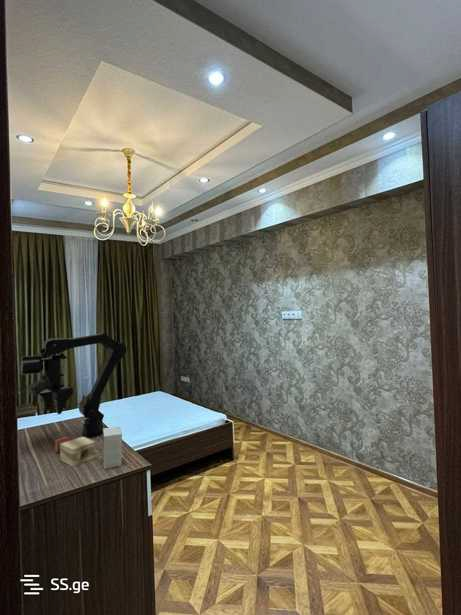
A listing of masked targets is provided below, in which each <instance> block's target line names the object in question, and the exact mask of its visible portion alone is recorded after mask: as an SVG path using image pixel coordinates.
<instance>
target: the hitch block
mask: <svg viewBox="0 0 461 615" xmlns="http://www.w3.org/2000/svg"><path fill="white" fill-rule="evenodd" d="M96 444H97V442H96V441H95V440H92V439H91V438H89V437H87V436H80V437H76V438H74V439H70V440H69V441H68V442H64V443H61V444H60V452H59V456H60V457H59V458H60V459H59V461H61V462H63V463H65V464H66V465H69V466H71V467H75V466H78V465H81V464H83V463H85V462H88V461H90V460H93V459H95V458H97V456H96V452H97V451H96V450H97V449H96ZM81 451H83V454H82V455H80V452H81Z"/></svg>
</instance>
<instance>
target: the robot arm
mask: <svg viewBox="0 0 461 615" xmlns="http://www.w3.org/2000/svg"><path fill="white" fill-rule="evenodd" d="M96 344H100V345H102V346H103V347H104V349H106V350H107V351H106V354H105V362H104V364H103V366H102V368H101V370H100V371H99V374H98V375H97V377H96V380H95V382H94V385H93V386H92V388H91V390H90V392H89V393H88V394H87V395H82V397H81V401H80V402H79V403H78V411H79V413H80V414H81V415H82V416H84V420H83V422H84V424H82V425H83V426H82V427H83V428H82V430H83V431H82V433H81V435H82V436H84V437H86V438H89V439H91V438H94V437H97V436H100V435H103V421H104V420H103V419H104V416H105V414H104V413H102V412H101V411H100V410H99V409H100V405H101V398H102V395H103V393H104V392H105V389H106V387H107V385H108V382H109V380H110V378H111V376H112V374H113V372H114V369H116V365H117V364H118V363H119V362H120V361H121V360H122V359H123V358H124V356H125V355H126V353H127V346H126V345H125V344H124V343H121V342H118V341H116V340H115V339H113V338H112V337H110V336H108V335H107V334H106V333H103V332H100V333H96V334H90V335H84V336H78V337H72V338H71V337H70V338H53V337H51V338H48V339H45V341H43V344H42V348H41V349H40V351H39V352H38V354H36V355H28V356H27V355H23V356H21V361H20V368H19V369H20V375H21V376H26V375H27V376H28V375H33V374H34V375H35V374H40V373H41V372H42V371H43V370H44V371H43V372H44V374H41V378H40V379H39V380H36V381H35V382H33V383H30V384H28V385H27V386H26V388H27V391H28V393H29V395H33V396H39V397H40V398H41V399H42V403H43V406H44V408H45V411H47V412H48V411H50V409H51V407H52V402H53V401H54V402H55V406H56V408H55V409H56V413H57V415H61V414H62V413H63V410H64V409H65V406H66V404H67V402H68V400H69V398H70V397H72V396H73V395H74V388H72V387H70V386H65V385H64V383H62V377H64V374H65V373H63V372H62V360H65V359H67V358H68V357H67V356H66V355H65V354H64V353H63V352H66V351H68V350H70V349H73V348H79V347H86V346H91V345H96ZM85 418H86V419H85Z"/></svg>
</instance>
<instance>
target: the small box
mask: <svg viewBox="0 0 461 615" xmlns="http://www.w3.org/2000/svg"><path fill="white" fill-rule="evenodd" d="M102 431H103V434H102V464H103V470H108V469H112V467H113V468H117V467H116V466H119V467H121V465H123V464H122V463H123V462H122V461H123V458H122V456H123V446H122V445H123V434H122V430H121V426H119V425H118V426H112V427H104V428H103V427H102ZM107 468H108V469H107Z"/></svg>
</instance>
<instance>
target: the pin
mask: <svg viewBox="0 0 461 615" xmlns="http://www.w3.org/2000/svg"><path fill="white" fill-rule="evenodd" d="M68 441H70V439H69V436H63V437H61V438H58V439H55V441H54V445H55V446H54V450H55V453H60V444H61V443H64V442H68ZM82 454H83V451H81V452H80V455H82Z"/></svg>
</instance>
